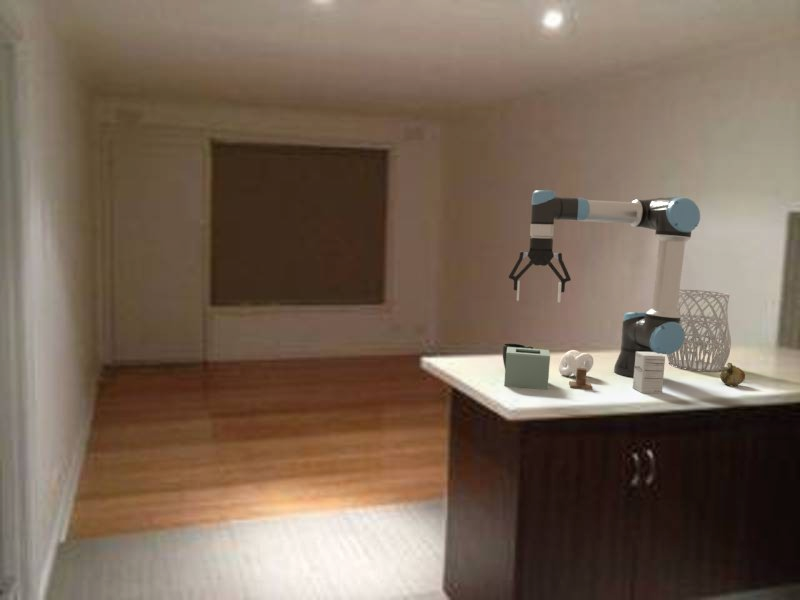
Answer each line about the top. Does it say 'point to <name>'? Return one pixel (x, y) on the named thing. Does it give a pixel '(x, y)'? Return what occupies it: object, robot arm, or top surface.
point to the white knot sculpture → (575, 362)
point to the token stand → (580, 380)
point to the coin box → (527, 368)
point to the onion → (732, 375)
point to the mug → (511, 346)
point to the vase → (719, 358)
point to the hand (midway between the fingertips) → (538, 301)
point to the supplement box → (648, 372)
